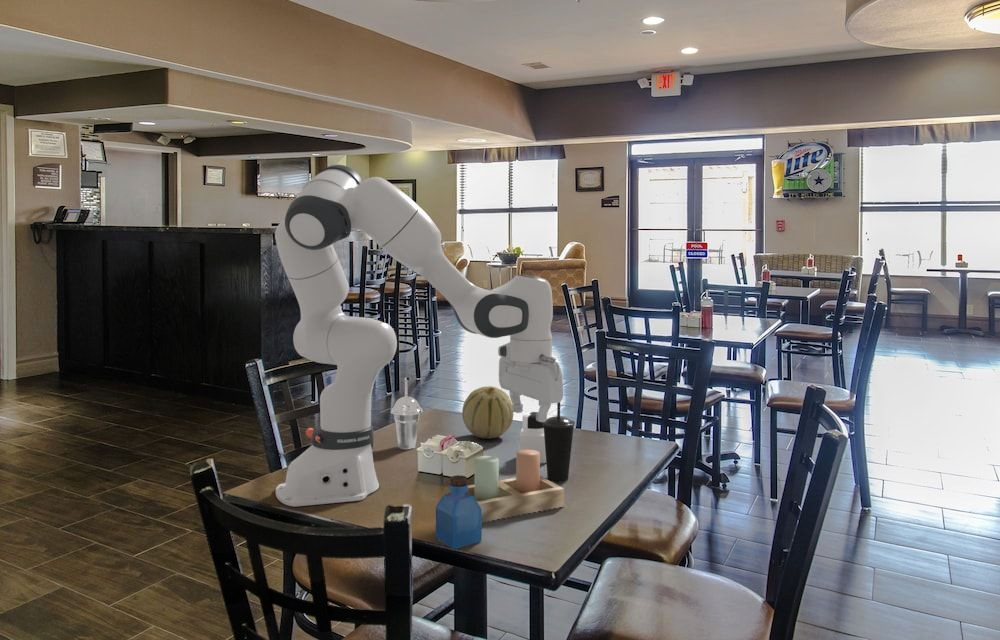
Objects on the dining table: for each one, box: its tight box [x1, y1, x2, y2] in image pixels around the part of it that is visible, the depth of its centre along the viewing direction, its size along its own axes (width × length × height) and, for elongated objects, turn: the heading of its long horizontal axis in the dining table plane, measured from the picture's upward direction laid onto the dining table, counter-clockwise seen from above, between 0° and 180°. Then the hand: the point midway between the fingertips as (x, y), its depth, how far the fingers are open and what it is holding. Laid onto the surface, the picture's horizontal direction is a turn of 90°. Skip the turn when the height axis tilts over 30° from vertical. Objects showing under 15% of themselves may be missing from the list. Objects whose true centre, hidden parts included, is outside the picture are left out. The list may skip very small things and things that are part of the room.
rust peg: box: [515, 450, 541, 493], centre depth 161 cm, size 5×5×11 cm
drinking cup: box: [542, 402, 576, 483], centre depth 177 cm, size 8×8×20 cm
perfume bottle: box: [435, 475, 483, 550], centre depth 141 cm, size 6×6×12 cm
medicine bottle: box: [518, 411, 546, 464], centre depth 193 cm, size 7×7×12 cm
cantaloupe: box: [461, 385, 515, 440], centre depth 213 cm, size 15×15×15 cm
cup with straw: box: [390, 376, 424, 450], centre depth 202 cm, size 8×9×20 cm
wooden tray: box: [466, 475, 565, 524], centre depth 159 cm, size 21×11×4 cm, turn 118°
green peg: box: [474, 455, 500, 501], centre depth 156 cm, size 5×5×11 cm
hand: (529, 416), depth 160 cm, fingers open, 8 cm apart
